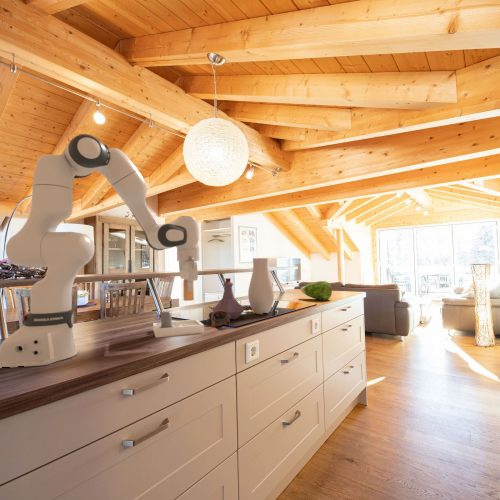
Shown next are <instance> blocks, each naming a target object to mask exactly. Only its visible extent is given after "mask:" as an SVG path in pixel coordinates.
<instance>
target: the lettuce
mask: <svg viewBox="0 0 500 500" xmlns="http://www.w3.org/2000/svg"><path fill="white" fill-rule="evenodd" d="M332 289H333V288H332V286H331V284H330V282H329V281H326V280H320V281H315V282H310V283H308V284H306V285H304V286H302V287H300V292H301V293H302V294H304V295H306V296H307V297H310V298H312V299H315V300H318V299H320V301H328V300H329V299H330V298H331V296H332V293H333V291H332Z"/></svg>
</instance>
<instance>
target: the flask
mask: <svg viewBox="0 0 500 500" xmlns="http://www.w3.org/2000/svg"><path fill="white" fill-rule="evenodd" d="M222 285H223V287H224V288H223V289H224V290H223V294H222V298H221V299H220V300H219V302H218V303H217V304H216V305H215V307H213V309H212V312H215V311H217V310H224V311H226V312H227V313H228V315H229V316H230V318H229V320H230V319H234V320H237V319H239V318H240V316H241V315H242V313H244V311H245V310H246V309H245V308H244V307H243V306H242V305H241V304H240V303H239V302H238V301H237V299H236V298H235V296H234V291H233V285H234V283H233V282H231V278H230V277H229V278H228V277H227V278H225V282H224V283H223V284H222ZM218 315H219V314H218ZM218 315H217V316H218ZM236 318H237V319H236ZM230 321H231V320H230Z"/></svg>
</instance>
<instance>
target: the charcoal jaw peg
mask: <svg viewBox="0 0 500 500" xmlns="http://www.w3.org/2000/svg"><path fill="white" fill-rule="evenodd" d="M160 322H161V328H168V327H171V322H172V311H169V310H167V311H160Z"/></svg>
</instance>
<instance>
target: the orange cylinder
mask: <svg viewBox="0 0 500 500" xmlns="http://www.w3.org/2000/svg"><path fill="white" fill-rule="evenodd" d="M182 280H183V283H182V285H183V286H182V287H183V295H182V296H183V301H186V302H187V301H188V302H189V301H194V298H195V297H194V295H195V294H194V292H195V291H194V284H193V287H192V292H188V291H187V287H188V283H187V280H184V279H182Z"/></svg>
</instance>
